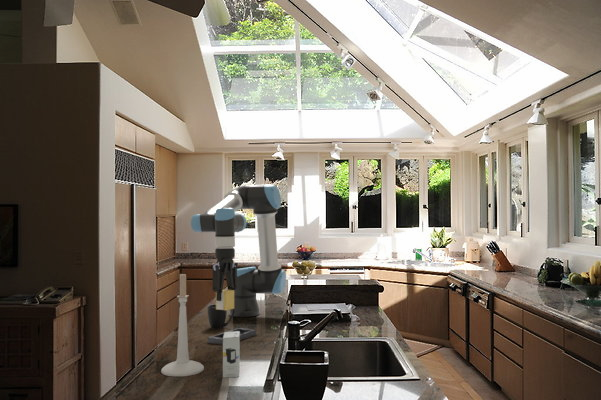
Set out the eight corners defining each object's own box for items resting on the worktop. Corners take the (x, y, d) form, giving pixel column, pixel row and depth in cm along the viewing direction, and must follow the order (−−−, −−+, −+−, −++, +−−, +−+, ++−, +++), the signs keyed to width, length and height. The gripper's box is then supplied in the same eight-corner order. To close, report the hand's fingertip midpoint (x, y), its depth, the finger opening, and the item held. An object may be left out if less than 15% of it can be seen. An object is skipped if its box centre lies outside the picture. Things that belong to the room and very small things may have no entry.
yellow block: (224, 307, 200) (223, 289, 201) (234, 308, 198) (234, 290, 198) (215, 309, 196) (215, 291, 196) (226, 310, 194) (226, 291, 194)
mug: (232, 329, 217) (232, 307, 218) (205, 329, 219) (205, 307, 219) (237, 326, 226) (237, 304, 226) (210, 325, 227) (210, 304, 227)
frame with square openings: (239, 332, 211) (239, 327, 211) (256, 334, 207) (256, 329, 207) (207, 342, 194) (207, 337, 194) (225, 345, 190) (225, 339, 190)
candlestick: (168, 364, 164) (168, 271, 166) (207, 364, 164) (207, 270, 165) (155, 376, 152) (156, 275, 153) (198, 376, 151) (198, 274, 153)
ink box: (224, 369, 158) (224, 331, 159) (240, 368, 159) (239, 330, 159) (222, 377, 150) (222, 337, 150) (239, 377, 150) (238, 336, 151)
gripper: (231, 246, 208) (231, 304, 207) (202, 248, 192) (202, 311, 191) (246, 246, 204) (246, 305, 203) (217, 248, 188) (217, 312, 187)
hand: (225, 308), depth 197 cm, fingers closed on yellow block, 5 cm apart
